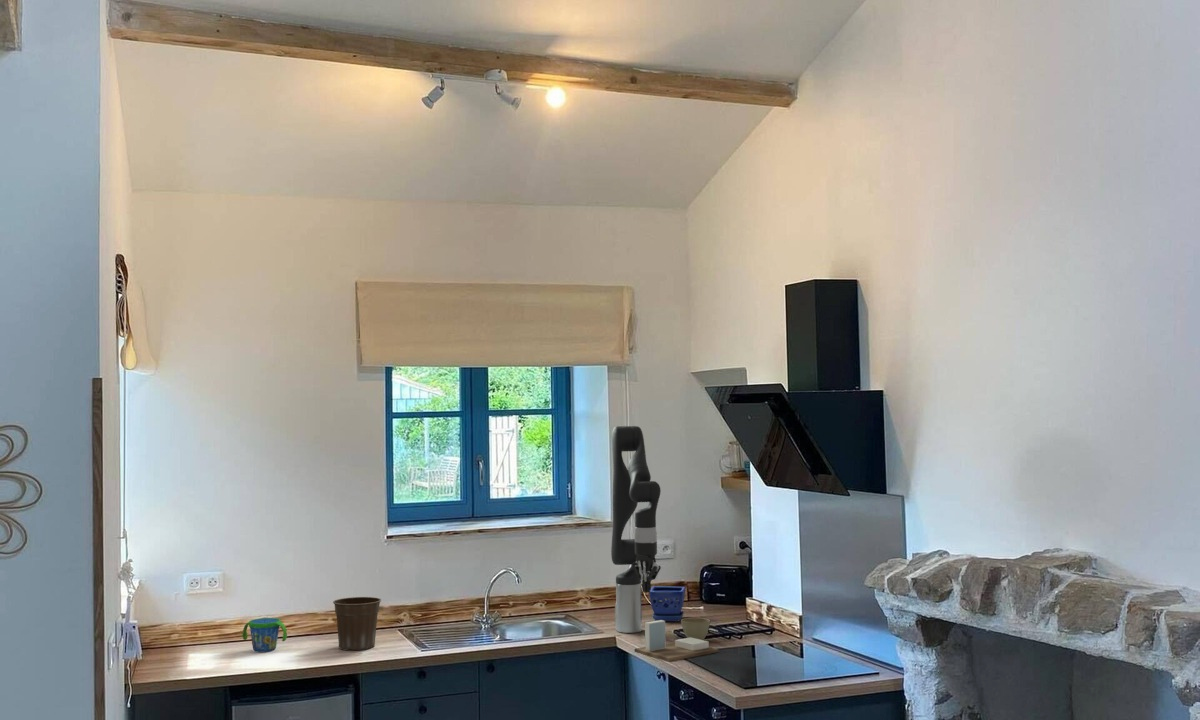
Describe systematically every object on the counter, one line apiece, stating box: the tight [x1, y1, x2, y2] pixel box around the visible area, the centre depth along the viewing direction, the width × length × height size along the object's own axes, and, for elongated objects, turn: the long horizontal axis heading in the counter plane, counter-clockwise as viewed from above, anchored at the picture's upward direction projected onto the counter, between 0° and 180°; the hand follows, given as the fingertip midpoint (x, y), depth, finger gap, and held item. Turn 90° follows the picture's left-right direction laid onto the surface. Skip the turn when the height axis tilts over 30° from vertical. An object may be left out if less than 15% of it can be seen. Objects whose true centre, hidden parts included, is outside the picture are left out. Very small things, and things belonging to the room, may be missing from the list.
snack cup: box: [242, 617, 288, 653], centre depth 359 cm, size 16×10×10 cm
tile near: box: [644, 620, 667, 651], centre depth 346 cm, size 2×7×9 cm, turn 126°
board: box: [634, 641, 719, 662], centre depth 346 cm, size 18×21×1 cm
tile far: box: [674, 637, 710, 651], centre depth 348 cm, size 2×7×9 cm
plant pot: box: [332, 596, 382, 651], centre depth 362 cm, size 16×16×16 cm
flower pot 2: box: [680, 617, 711, 641], centre depth 363 cm, size 10×10×7 cm
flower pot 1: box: [648, 585, 686, 622], centre depth 404 cm, size 13×13×12 cm
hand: (646, 592), depth 352 cm, fingers closed
